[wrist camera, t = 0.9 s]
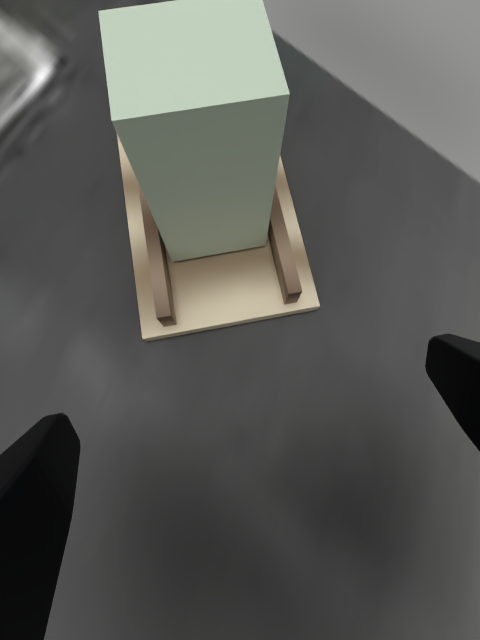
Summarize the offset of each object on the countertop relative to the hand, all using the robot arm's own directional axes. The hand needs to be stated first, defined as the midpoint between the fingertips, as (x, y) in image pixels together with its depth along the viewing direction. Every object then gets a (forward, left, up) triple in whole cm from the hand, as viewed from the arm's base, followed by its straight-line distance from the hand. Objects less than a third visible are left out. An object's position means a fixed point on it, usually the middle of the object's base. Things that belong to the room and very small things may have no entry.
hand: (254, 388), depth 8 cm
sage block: (+9, -8, -12) cm, 17 cm away
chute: (+11, -10, -13) cm, 20 cm away
